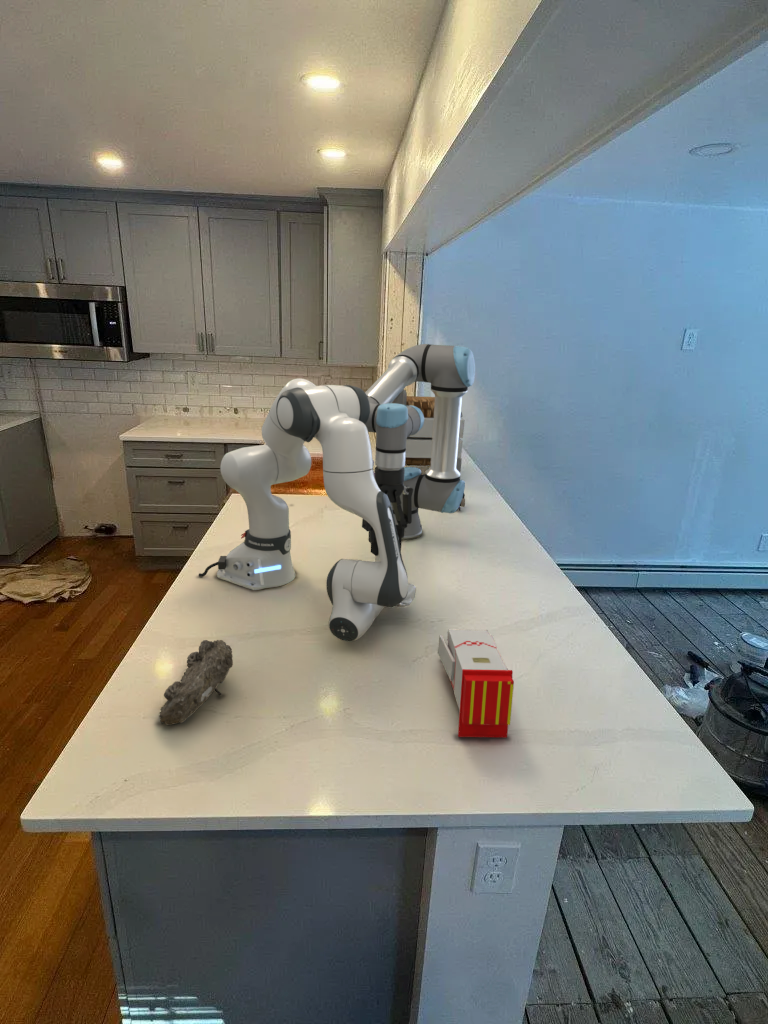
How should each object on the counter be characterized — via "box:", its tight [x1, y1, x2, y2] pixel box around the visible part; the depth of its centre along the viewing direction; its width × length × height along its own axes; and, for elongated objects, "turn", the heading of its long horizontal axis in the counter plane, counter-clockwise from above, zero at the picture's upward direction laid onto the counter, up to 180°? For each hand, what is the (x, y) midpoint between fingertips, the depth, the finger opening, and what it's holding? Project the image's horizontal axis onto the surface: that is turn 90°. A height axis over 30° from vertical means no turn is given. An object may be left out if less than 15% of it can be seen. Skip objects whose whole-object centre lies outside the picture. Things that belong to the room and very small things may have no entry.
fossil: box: [158, 639, 234, 726], centre depth 113 cm, size 22×10×15 cm
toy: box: [437, 628, 515, 738], centre depth 117 cm, size 12×13×30 cm
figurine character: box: [457, 493, 466, 511], centre depth 229 cm, size 7×8×15 cm
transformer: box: [392, 388, 465, 475], centre depth 268 cm, size 34×33×41 cm
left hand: (385, 576), depth 153 cm, fingers closed on jar, 5 cm apart
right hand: (385, 551), depth 150 cm, fingers closed on lid, 6 cm apart
